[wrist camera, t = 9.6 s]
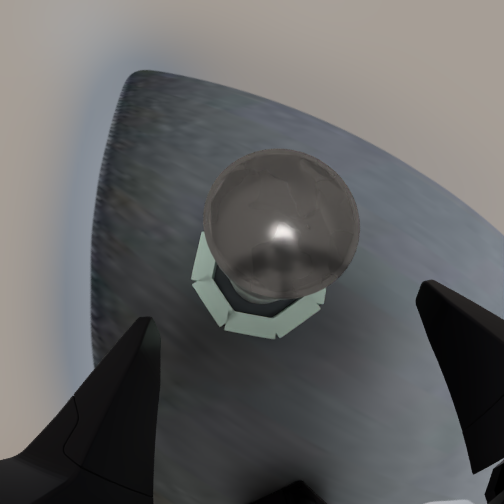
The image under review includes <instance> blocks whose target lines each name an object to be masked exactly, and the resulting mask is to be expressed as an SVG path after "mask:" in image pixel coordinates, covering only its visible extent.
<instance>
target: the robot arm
mask: <svg viewBox="0 0 504 504" xmlns="http://www.w3.org/2000/svg"><path fill="white" fill-rule="evenodd" d="M416 306H417V309H418V311H419V314H420V317H421V320H422V322H423V325H424V328H425V331H426V334H427V337H428V339H429V342H430V344H431V347H432V349H433V351H434V354H435V356H436V358H437V361H438V363H439V366H440V368H441V371H442V373H443V376H444V378H445V381H446V384H447V386H448V389H449V392H450V395H451V397H452V400H453V403H454V406H455V409H456V412H457V415H458V419H459V422H460V425H461V429H462V433H463V436H464V440H465V444H466V448H467V452H468V456H469V460H470V465H471V469H472V473H473V474H476V473H478V472H480V471H481V470H483V469H485V468H487V467H489V466H491V465H492V464H494V463H496V462H498V461H499V460H501V459H503V458H504V320H503V319H501V318H500V317H498V316H496V315H495V314H493V313H491V312H490V311H488V310H486V309H485V308H483V307H481V306H479V305H478V304H476V303H474V302H473V301H471V300H469V299H467V298H465V297H464V296H462V295H460V294H458V293H457V292H455V291H453V290H451V289H449V288H447V287H446V286H444V285H442V284H440V283H438V282H436V281H434V280H427V281H424V282H422V284H421V286H420V289H419V292H418V294H417V297H416ZM160 351H161V338H160V334H159V332H158V329H157V327H156V324H155V322H154V320H153V318H152V317H139V318H138V319H137V320H136V321H135V322H134V323H133V324H132V326H131V327H130V328H129V329H128V330H127V331H126V332H125V334H124V335H123V336H122V337H121V338H120V339H119V341H118V342H117V343H116V344H115V345H114V346H113V348H112V349H111V350H110V351H109V352H108V353H107V355H106V356H105V357H104V358H103V359H102V361H101V362H100V363H99V364H98V365H97V367H96V368H95V369H94V370H93V371H92V373H91V374H90V375H89V376H88V378H87V379H86V380H85V381H84V382H83V384H82V385H81V386H80V387H79V389H78V390H77V391H76V392H75V394H74V396H72V397H71V398H70V400H69V401H68V402H67V403H66V405H65V406H64V407H63V408H62V410H61V411H60V412H59V413H58V414H57V415H56V417H55V418H54V419H53V420H52V421H51V422H50V423H49V424H48V425H47V426H46V427H45V429H44V430H43V431H42V432H41V433H40V434H39V435H38V436H37V437H36V438H35V439H34V440H33V441H32V442H31V443H30V444H29V445H28V447H27V448H26V449H25V450H23V451H22V452H21V453H20V454H18V455H16V456H14V457H11V458H8V459H3V460H0V504H153V476H154V453H155V437H156V423H157V412H158V401H159V392H160ZM298 485H301V486H298ZM485 497H486V501H487V504H504V460H503V461H502V462H501V463H500V464H498V465H497V466H496V467H495V468H494V469H493V471H492V474H491V477H490V481H489V483H488V486H487V489H486V492H485ZM251 504H326V503H325V502H324V501H323V500H322V499H321V498H320V497H319V496H318V495H316V494H315V493H314V492H313V491H312V490H311V489H310V488H309V487H308V486H307V485H306V484H305V483H304V482H303V481H297V482H295V483H293V484H291V485H289V486H287V487H285V488H283V489H281V490H279V491H277V492H275V493H273V494H270V495H268V496H266V497H264V498H262V499H259V500H257V501H255V502H253V503H251Z"/></svg>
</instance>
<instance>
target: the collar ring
mask: <svg viewBox="0 0 504 504" xmlns="http://www.w3.org/2000/svg"><path fill="white" fill-rule="evenodd" d="M216 268H217V263H216V261H215V259H214V258H213V256H212V254H211V252H210V249H209V247H208V245H207V241H206V238H205V234H204V232H202V233H201V238H200V242H199V246H198V250H197V254H196V259H195V263H194V268H193V272H192V277H191V279H192V280H193V281H195V283H193V284H192V286H193V287H194V289H195V290H196V292H197V293H198V295H199V297H200V298H201V300H202V301H203V303H204V304H205V306H206V307H207V309H208V310H209V312H210V313H211V315H212V316H213V318H214V319H215V321H216V322H217V324H218V325H219V327H220V326H222V325H224V324H225V323H226V324H225V329H224V330H226V331H231V332H236V333H241V334H246V335H252V336H257V337H263V338H269V339H275V336H276V335H277V336H278V337H279V338H281V337H283V336H284V335H286V334H287V333H289V332H290V331H291V330H293V329H294V328H296V327H297V326H298V325H300V324H301V323H303V322H304V321H305V320H307V319H308V318H309V317H311V316H312V315H313V314H315V313H316V312H317V311H319V310H320V309H321V308H320V307H319V305H321V304H324V299H325V293H326V288H324V289H322V290H320V291H318V292H316V293H313V294H310V295H307V296H304V297H301V298H299V299H298V300H296V301H295V302H294V303H292V304H291V305H289V306H288V307H286V308H285V309H284V310H282V311H281V312H279V313H278V314H276V315H275V316H274V317H272V318H268V317H263V316H257V315H252V314H246V313H241V312H236V311H234V310H233V308H232V307H231V305H230V304H229V302H228V301H227V299H226V298H225V296H224V295H223V293H222V292H221V290H220V289H219V287H218V286H217V284H216V283H215V281H214V277H215V273H216Z"/></svg>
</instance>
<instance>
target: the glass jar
mask: <svg viewBox="0 0 504 504" xmlns="http://www.w3.org/2000/svg"><path fill="white" fill-rule="evenodd" d="M203 225H204V234H205V238H206V241H207V245H208V247H209V249H210V252H211V254H212V256H213V258H214V259H215V261H216V263H217V264H218V266H219V267H220V269H221V270H222V271H223V272H224V274H225V275H226V276H227V277H228V278H229V279H230V281H231V284H232V286H233V288H234V290H235V291H236V292H237V294H238V295H239V296H240V297H242V298H243V299H244V300H246V301H248V302H251V303H254V304H269V303H272V302H275V301H278V300H288V299H295V298H301V297H304V296H307V295H310V294H313V293H316V292H318V291H320V290H322V289H324V288H326V287H327V286H329V285H330V284H332V283H333V282H334V281H335V280H336V279H338V278H339V277H340V276H341V275H342V273H343V272H344V271H345V270H346V269H347V267H348V266H349V264H350V262H351V261H352V259H353V256H354V254H355V252H356V249H357V245H358V241H359V233H360V221H359V214H358V210H357V206H356V203H355V200H354V198H353V196H352V193H351V192H350V190H349V188H348V186H347V185H346V184H345V182H344V181H343V180H342V178H341V177H340V176H339V175H338V174H337V173H336V172H335V171H334V170H333V169H331V168H330V167H329V166H328V165H326V164H325V163H323V162H322V161H320V160H319V159H317V158H315V157H313V156H310V155H308V154H305V153H302V152H298V151H294V150H288V149H267V150H262V151H257V152H254V153H251V154H248V155H246V156H244V157H242V158H240V159H238V160H236V161H235V162H233V163H232V164H231V165H229V166H228V167H227V168H226V169H225V170H224V171H223V172H222V173H221V174H220V175H219V176H218V178H217V179H216V181H215V182H214V184H213V185H212V187H211V189H210V191H209V193H208V196H207V199H206V202H205V207H204V213H203Z"/></svg>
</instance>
